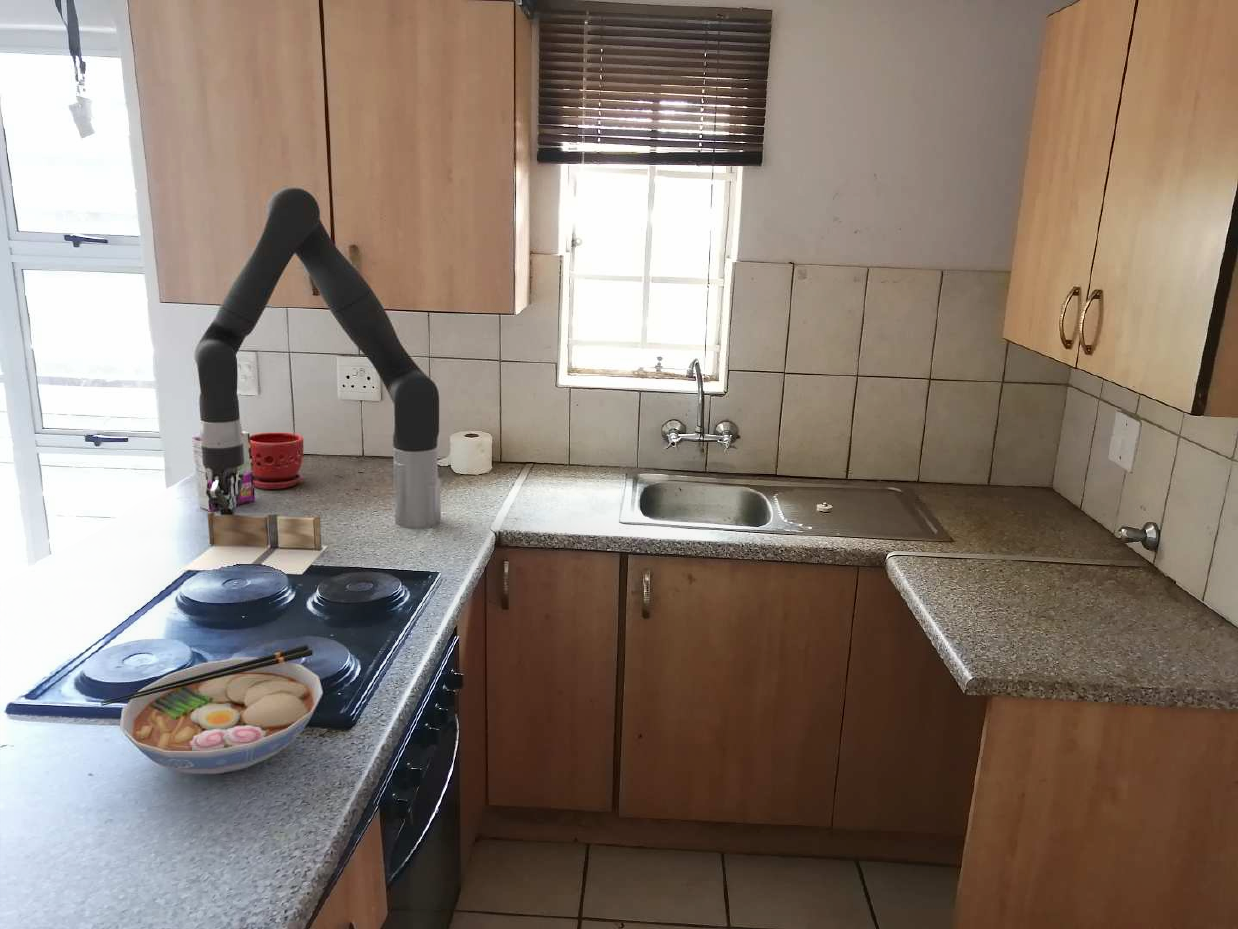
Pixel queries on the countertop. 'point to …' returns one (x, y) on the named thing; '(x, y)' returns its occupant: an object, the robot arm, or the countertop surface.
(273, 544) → the fence fixed
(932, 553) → the countertop surface
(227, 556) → the card
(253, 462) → the plant pot
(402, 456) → the robot arm
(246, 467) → the candy bar box
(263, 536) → the fence hinged panel
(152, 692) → the ramen bowl
